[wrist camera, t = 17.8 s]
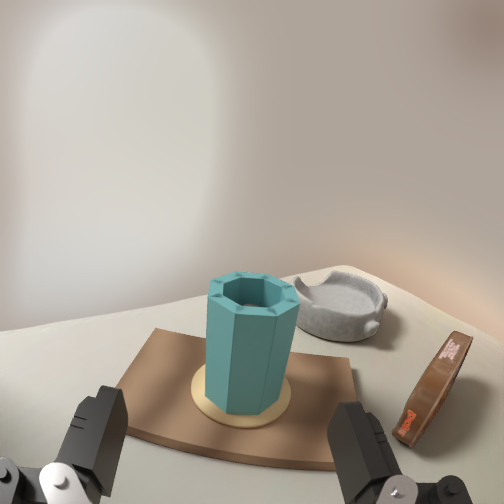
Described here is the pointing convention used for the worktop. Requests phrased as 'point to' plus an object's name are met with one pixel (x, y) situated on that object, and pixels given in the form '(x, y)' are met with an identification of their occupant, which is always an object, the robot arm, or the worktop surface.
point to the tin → (432, 388)
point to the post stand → (233, 425)
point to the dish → (340, 307)
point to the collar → (248, 340)
